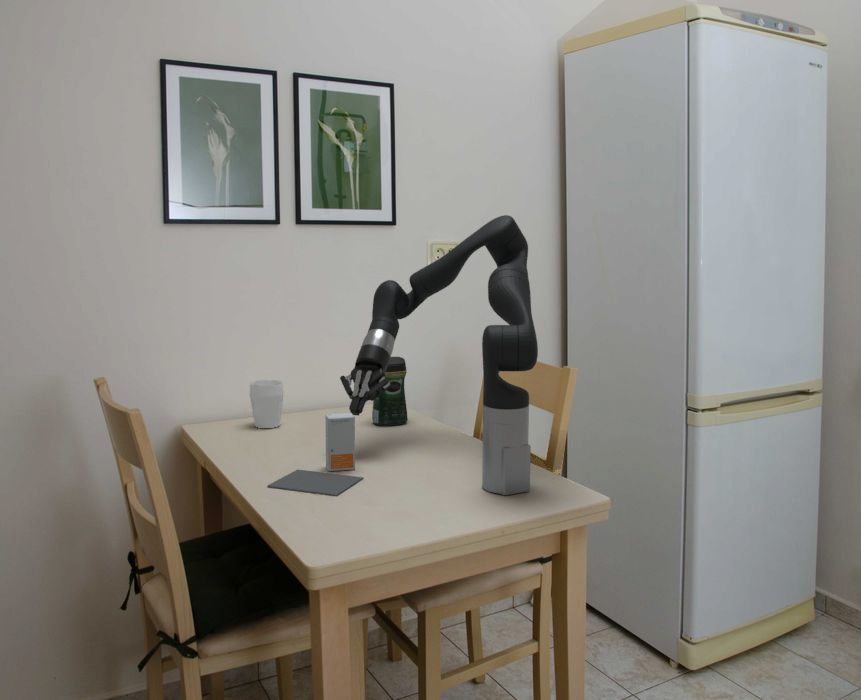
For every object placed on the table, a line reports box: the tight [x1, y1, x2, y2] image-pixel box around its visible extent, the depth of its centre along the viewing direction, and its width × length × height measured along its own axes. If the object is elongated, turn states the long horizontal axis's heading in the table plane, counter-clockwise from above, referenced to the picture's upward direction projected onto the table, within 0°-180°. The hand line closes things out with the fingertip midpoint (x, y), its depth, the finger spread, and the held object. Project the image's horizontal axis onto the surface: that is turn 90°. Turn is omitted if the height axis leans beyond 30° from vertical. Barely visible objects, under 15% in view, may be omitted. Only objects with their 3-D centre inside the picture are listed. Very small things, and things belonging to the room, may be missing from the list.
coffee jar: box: [371, 356, 409, 427], centre depth 208 cm, size 10×8×19 cm
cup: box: [249, 379, 285, 429], centre depth 205 cm, size 9×9×12 cm
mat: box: [266, 469, 364, 497], centre depth 157 cm, size 12×16×1 cm
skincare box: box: [324, 412, 356, 472], centre depth 166 cm, size 6×4×12 cm
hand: (354, 413), depth 172 cm, fingers closed
